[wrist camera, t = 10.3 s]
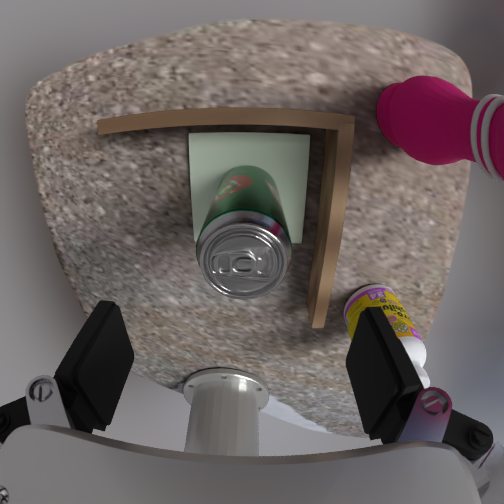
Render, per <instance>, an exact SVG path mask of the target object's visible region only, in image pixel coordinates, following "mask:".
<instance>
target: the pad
mask: <svg viewBox="0 0 504 504" xmlns="http://www.w3.org/2000/svg"><path fill="white" fill-rule="evenodd" d="M309 147H310V135H308V134H292V133H271V132H200V133H189V160H190V182H191V200H192V216H193V230H194V241H197V239H198V237H199V234H200V231H201V229H202V226H203V224H204V221H205V219H206V216H207V213H208V211H209V208H210V206H211V204H212V201H213V199H214V196H215V194H216V191H217V189H218V186H219V184H220V182H221V180H222V178H223V177H224V176H225V175H226V174H227V173H228V172H229V171H231V170H232V169H234V168H236V167H240V166H246V165H249V166H256V167H259V168H261V169H263V170H265V171H266V172H267V173H269V174H270V175H271V177H272V178H273V179H274V181H275V183H276V186H277V189H278V193H279V197H280V200H281V204H282V208H283V211H284V215H285V219H286V223H287V227H288V230H289V234H290V238H291V242H292V243H302V233H303V223H304V212H305V201H306V189H307V176H308V162H309Z"/></svg>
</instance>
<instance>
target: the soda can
mask: <svg viewBox="0 0 504 504" xmlns="http://www.w3.org/2000/svg"><path fill="white" fill-rule="evenodd" d="M292 255H293V248H292V242H291V238H290V234H289V230H288V227H287V223H286V219H285V215H284V211H283V208H282V204H281V200H280V197H279V193H278V189H277V186H276V183H275V181H274V179H273V178H272V177H271V175H270V174H269V173H267V172H266V171H265V170H263V169H261V168H259V167H256V166H249V165H246V166H240V167H236V168H234V169H232V170H231V171H229V172H228V173H227V174H226V175H225V176H224V177H223V178H222V180H221V182H220V184H219V186H218V189H217V191H216V194H215V196H214V199H213V201H212V204H211V206H210V208H209V211H208V213H207V216H206V219H205V221H204V224H203V226H202V229H201V231H200V234H199V237H198V239H197V244H196V256H197V261H198V264H199V266H200V268H201V271H202V274H203V276H204V278H205V280H206V281H207V282H208V284H209V285H210V286H211V287H212V288H213V289H214V290H216V291H217V292H219V293H221V294H223V295H225V296H227V297H230V298H234V299H243V300H245V299H254V298H258V297H261V296H264V295H266V294H268V293H270V292H271V291H273V290H274V289H275V288H276V287H277V286H278V285H279V284H280V283H281V281H282V279H283V278H284V276H285V274H286V272H287V270H288V268H289V266H290V264H291V260H292Z"/></svg>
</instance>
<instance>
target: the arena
mask: <svg viewBox="0 0 504 504" xmlns="http://www.w3.org/2000/svg"><path fill="white" fill-rule="evenodd" d="M97 124H98V135H102V134H109V133H116V132H123V131H131V130H140V129H150V128H161V127H175V126H192V125H224V124H249V125H282V126H299V127H313V128H324V129H326V131H325V146H324V159H323V171H322V182H321V192H320V202H319V212H318V221H317V229H316V237H315V245H314V253H313V261H312V268H311V275H310V282H309V288H308V295H307V301H306V304H307V309H308V313H309V318H310V322H311V327H312V328H324V323H325V319H326V315H327V310H328V305H329V301H330V296H331V291H332V286H333V281H334V276H335V271H336V266H337V260H338V254H339V249H340V243H341V237H342V231H343V224H344V217H345V211H346V203H347V196H348V188H349V180H350V171H351V162H352V152H353V141H354V129H355V116H351V115H345V114H337V113H329V112H319V111H308V110H295V109H277V108H201V109H183V110H170V111H159V112H150V113H141V114H133V115H126V116H119V117H113V118H107V119H102V120H97Z"/></svg>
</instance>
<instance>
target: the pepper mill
mask: <svg viewBox="0 0 504 504" xmlns="http://www.w3.org/2000/svg"><path fill="white" fill-rule="evenodd" d="M376 114H377V121H378V124H379V127H380V129H381V131H382V133H383V134H384V136H385V137H386V138H387V139H388V140H389V141H390V142H391V143H393V144H394V145H396V146H398V147H401V148H402V149H403V150H404V151H405V152H406V153H407V154H408V155H409V156H411V157H412V158H414V159H416V160H418V161H421V162H424V163H427V164H431V165H445V164H450V163H454V162H457V161H459V160H462V159H467V160H470V161H474V162H476V163H477V164H478V166H479V167H480V169H481V170H482V172H484V173H485V175H487V176H488V177H490V178H492V179H495V180H497V181H498V182H500V183H503V184H504V96H501V95H498V94H490V95H487V96H486V97H484V98H483V99H482V100H481V101H479V100H475V99H472V98H470V97H469V96H467V95H466V94H465V93H463V92H462V91H461V90H460V89H458V88H457V87H455V86H454V85H453V84H451V83H449V82H447V81H445V80H442V79H440V78H437V77H431V76H415V77H412V78H409V79H407V80H406V81H404V82H402V83H395V84H392V85H390V86H389V87H387V88H386V89H385V90H384V91H383V92H382V94H381V95H380V97H379V100H378V103H377V111H376Z"/></svg>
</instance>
